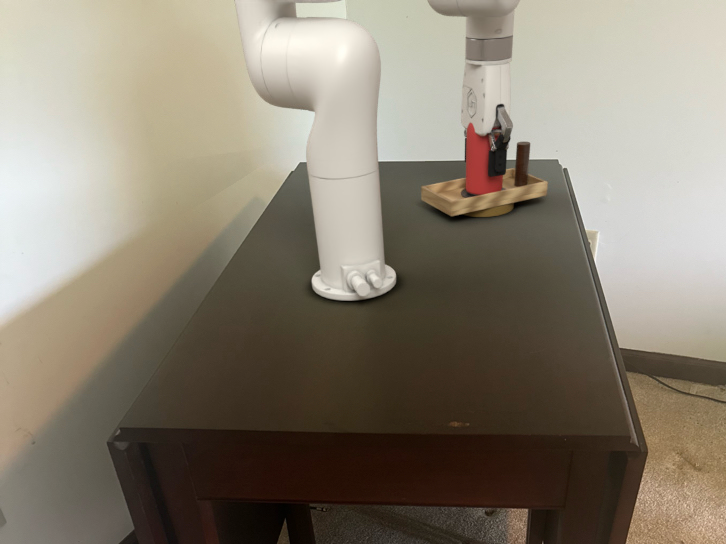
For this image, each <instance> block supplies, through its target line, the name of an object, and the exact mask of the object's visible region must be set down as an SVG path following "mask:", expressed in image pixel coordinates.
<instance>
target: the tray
mask: <svg viewBox="0 0 726 544" xmlns="http://www.w3.org/2000/svg"><path fill="white" fill-rule="evenodd" d="M530 153H531V142H530V141H518V142H517V143H516V150H515V154H516V155H515V167H511V168H506V174H505V175H503V184H502V189H501V191H497V192H492V193H488V194H483V195H478V196H474V195H471V194H469V193H468V192H467V191H466V177H461V178H456V179H451V180H447V181H441V182H437V183H431V184H427V185H422V186H421V187H420V192H421V193H420V194H421V195H420V196H421V198H420V199H421V201H422V202H424V203H426V204H428V205H430V206H432V207H433V208H435V209H437V210H438V211H441V212H442V213H444V214H446V215H448V216H450V217H455V216H459V215H462V214H464V213H469V212H474V211H478V210H483V209H487V208H492V207H496V206H501V205H505V204H510V203H514V204H515V203H519V202H523V201H528V200H532V199H536V198H537V199H538V198H541V197H546V196H547V195H548V186H549V182H548V181H547V180H545V179H542V178H539V177H538V176H535V175H532V174H530V173H529V167H530V155H531V154H530Z"/></svg>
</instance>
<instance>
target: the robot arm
mask: <svg viewBox="0 0 726 544" xmlns="http://www.w3.org/2000/svg"><path fill="white" fill-rule="evenodd" d="M340 1H342V0H234V7H235V13H236V18H237V23H238V29H239V30H238V31H239V35H240V40H241V46H242V51H243V57H244V61H245V66H246V70H247V73H248V76H249V79H250V82H251V85H252V87H253V89H254V90H255V92H256V94H257V95H258V96H259V97H260V98H261V100H263V101H264V102H265V103H267V104H269V105H270V106H274V107H278V108H283V109H292V110H300V111H302V110H303V111H309V112H313V113H314V117H313V122H312V125H311V128H310V131H309V134H308V136H307V137H308V138H307V141H306V148H305V159H306V160H305V161H306V169H307V177H308V182H309V184H308V185H309V192H310V199H311V208H312V214H313V222H314V230H315V238H316V245H317V251H318V252H317V253H318V260H319V261H318V262H319V266H320V267H319V270H318V271H316V272H315V273H314V274H313V275H312V276H311V288H312V291H314V293H316V294H317V295H318V296H320V297H322V298H325V299H329V300H332V301H333V300H334V301H341V302H342V301H343V302H346V301H347V302H350V301H351V302H352V301H354V302H355V301H363V300H369V299H373V298H376V297H379V296H382V295H384V294H386V293H387V292H390V291H391V290H392V289H393V288H394V287H395V285H396V284H397V274H396V271H395V270H394V269H393V268H392V267H391V266H390V265H387V264H386V262H385V245H384V231H383V213H382V199H381V182H380V181H381V180H380V166H379V165H380V164H379V152H378V151H379V150H378V148H379V147H378V106H379V95H380V88H381V87H380V86H381V75H382V62H381V53H380V50H379V47H378V44H377V42H376V40H375V38H374V37H373V35H372V33H371V32H370V31H369V30H368V29H367V28H366V27H365V26H364V25H362V24H360V23H358V22H356V21H354V20H351V19H348V18H341V17H330V16H329V17H327V16H307V17H305V16H304V17H303V16H302V17H300V16H299V17H298V16H297V5H296V4H327V3H336V2H340ZM426 1H427V3H428V5H429V6H430V8H431V9H432V10H433V11H434V12H435V13H437V14H439V15H441V16H444V17H457V18H459V17H461V18H465V47H464V48H465V50H464V51H465V53H464V56H465V57H464V63H465V64H464V71H463V78H462V81H463V82H462V91H461V112H460V113H461V114H460V116H461V117H460V123H461V125H462V127H463V128H464V131H463V135H464V162H465V163H466V141H467V127H468V125H469V123H470V122H471V123H472V124H473V126H474V129H475V133H476V134H478V135H479V136H486V134H488V138H489V142H490V146H491V150H489V156H488V176H489V177H494V176H501V175H505V174H506V169H507V159H508V149H510V148H509V147H510V141H511V139H512V138H511V135H512V132H513V129H514V124H513V121H512V119H511V66H510V65H511V62H512V61H513V48H514V47H513V44H514V25H515V24H514V23H515V10H516V9H517V7H518V5H519V4H520V2H521V0H426ZM471 118H472V119H471ZM492 128H499V129H493V130H492ZM495 136H498V138H497V140H496V141H495Z"/></svg>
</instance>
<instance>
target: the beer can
mask: <svg viewBox="0 0 726 544" xmlns="http://www.w3.org/2000/svg"><path fill="white" fill-rule="evenodd" d="M471 119H472V118H471ZM493 129H499V128H492V130H493ZM466 138H467V141H466V162H465V178H466V191H467V192H468V193H469V194H471V195H474V196H478V195H483V194H488V193H492V192H497V191H501V189H502V184H503V175H501V176H494V177H489V176H488V156H489V150H491V146H490V142H489V138H488V134H486V136H479V135H478V134H476V133H475V129H474V126H473V124H472V123H471V122H470V123H469V125H468V127H467V137H466ZM497 138H498V136H495V141H496V140H497Z"/></svg>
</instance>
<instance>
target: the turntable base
mask: <svg viewBox="0 0 726 544" xmlns="http://www.w3.org/2000/svg"><path fill="white" fill-rule="evenodd" d="M514 208H515V202H514V203H510V204H505V205H501V206H496V207H492V208H487V209H483V210H478V211H474V212H469V213H464V214H461V215H462V216H466V217H473V218H490V217H498V216H502V215H505V214H508V213H511V211H512V210H513V209H514Z"/></svg>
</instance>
